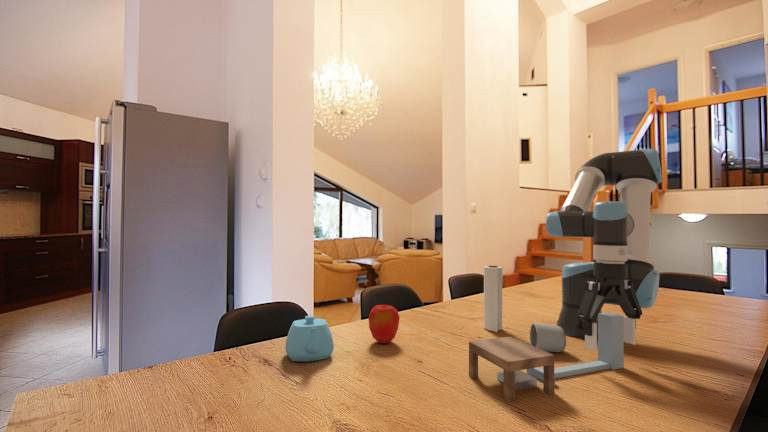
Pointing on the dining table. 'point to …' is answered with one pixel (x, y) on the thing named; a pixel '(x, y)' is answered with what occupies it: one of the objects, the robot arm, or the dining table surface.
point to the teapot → (309, 340)
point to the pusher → (607, 350)
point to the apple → (383, 323)
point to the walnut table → (511, 360)
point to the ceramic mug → (547, 337)
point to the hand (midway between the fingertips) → (610, 345)
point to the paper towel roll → (493, 298)
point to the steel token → (520, 380)
